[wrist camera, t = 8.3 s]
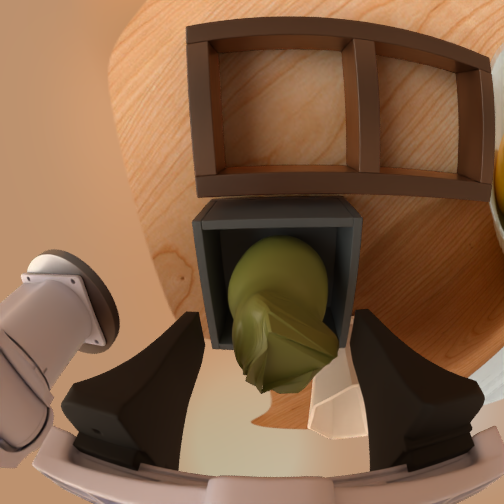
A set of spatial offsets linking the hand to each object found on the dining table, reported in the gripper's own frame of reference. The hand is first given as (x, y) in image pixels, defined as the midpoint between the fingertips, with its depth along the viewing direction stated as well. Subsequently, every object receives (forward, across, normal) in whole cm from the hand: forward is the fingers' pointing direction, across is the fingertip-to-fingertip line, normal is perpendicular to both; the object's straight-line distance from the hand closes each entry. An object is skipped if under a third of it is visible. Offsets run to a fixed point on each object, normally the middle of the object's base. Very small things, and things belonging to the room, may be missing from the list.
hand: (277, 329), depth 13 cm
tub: (+8, 0, 0) cm, 8 cm away
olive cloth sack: (+7, 0, 0) cm, 7 cm away
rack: (+8, -5, -10) cm, 14 cm away
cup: (+8, -6, +8) cm, 13 cm away
